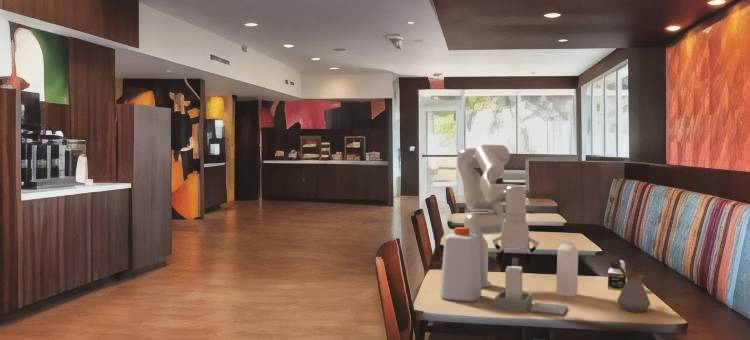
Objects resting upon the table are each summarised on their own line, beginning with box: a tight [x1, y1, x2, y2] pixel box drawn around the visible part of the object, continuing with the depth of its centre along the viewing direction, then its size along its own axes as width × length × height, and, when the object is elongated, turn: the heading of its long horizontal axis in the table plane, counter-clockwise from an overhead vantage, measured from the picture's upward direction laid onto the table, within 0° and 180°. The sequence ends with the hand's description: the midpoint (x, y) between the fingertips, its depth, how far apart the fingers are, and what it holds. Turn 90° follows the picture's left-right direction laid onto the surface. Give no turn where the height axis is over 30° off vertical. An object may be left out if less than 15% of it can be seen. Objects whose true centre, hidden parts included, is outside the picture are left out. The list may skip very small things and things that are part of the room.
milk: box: [555, 240, 579, 298], centre depth 253 cm, size 6×6×22 cm
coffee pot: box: [614, 262, 651, 313], centre depth 237 cm, size 21×12×15 cm, turn 3°
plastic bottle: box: [439, 226, 482, 303], centre depth 247 cm, size 15×15×28 cm
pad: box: [528, 302, 568, 317], centre depth 229 cm, size 12×12×1 cm
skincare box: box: [504, 265, 523, 300], centre depth 234 cm, size 8×6×15 cm
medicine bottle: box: [607, 259, 627, 291], centre depth 267 cm, size 7×7×12 cm
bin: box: [494, 289, 533, 313], centre depth 235 cm, size 12×13×4 cm
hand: (515, 263), depth 234 cm, fingers open, 9 cm apart
